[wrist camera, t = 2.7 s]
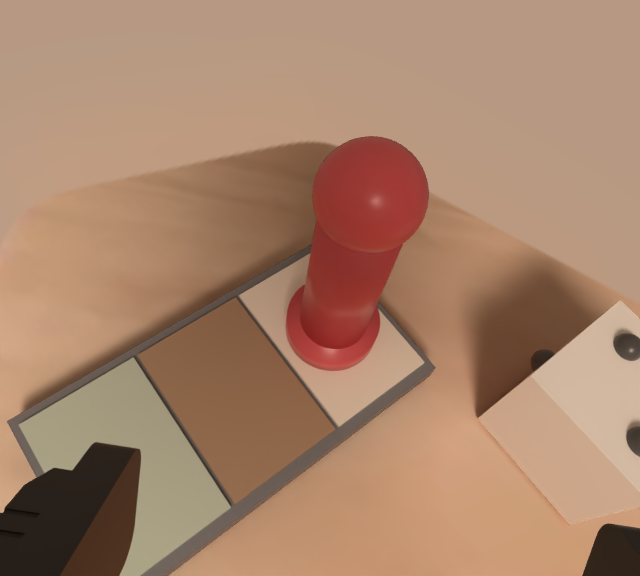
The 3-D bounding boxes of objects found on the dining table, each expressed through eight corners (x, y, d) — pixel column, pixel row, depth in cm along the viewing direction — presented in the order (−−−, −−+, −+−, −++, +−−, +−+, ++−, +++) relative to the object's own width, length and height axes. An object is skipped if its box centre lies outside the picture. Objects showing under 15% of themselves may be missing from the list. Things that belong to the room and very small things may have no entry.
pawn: (337, 274, 29) (388, 85, 19) (393, 338, 28) (483, 174, 17) (267, 317, 28) (279, 138, 17) (322, 388, 26) (373, 241, 16)
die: (547, 344, 30) (617, 283, 24) (645, 445, 28) (748, 405, 22) (468, 408, 28) (525, 358, 22) (569, 524, 26) (661, 501, 20)
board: (320, 250, 31) (323, 235, 30) (428, 376, 28) (436, 366, 27) (17, 428, 25) (5, 419, 24) (116, 615, 22) (108, 615, 21)
